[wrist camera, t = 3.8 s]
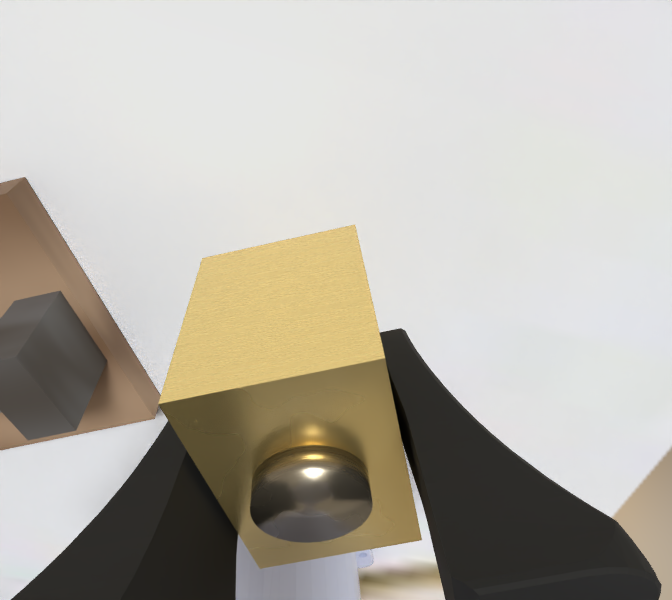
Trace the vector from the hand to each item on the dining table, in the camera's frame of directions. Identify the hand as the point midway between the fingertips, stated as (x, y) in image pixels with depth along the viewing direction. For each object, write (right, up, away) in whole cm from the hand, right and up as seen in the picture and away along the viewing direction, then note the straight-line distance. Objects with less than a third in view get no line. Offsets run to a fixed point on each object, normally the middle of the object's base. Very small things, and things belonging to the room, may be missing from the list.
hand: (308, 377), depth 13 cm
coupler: (0, +1, +1) cm, 2 cm away
